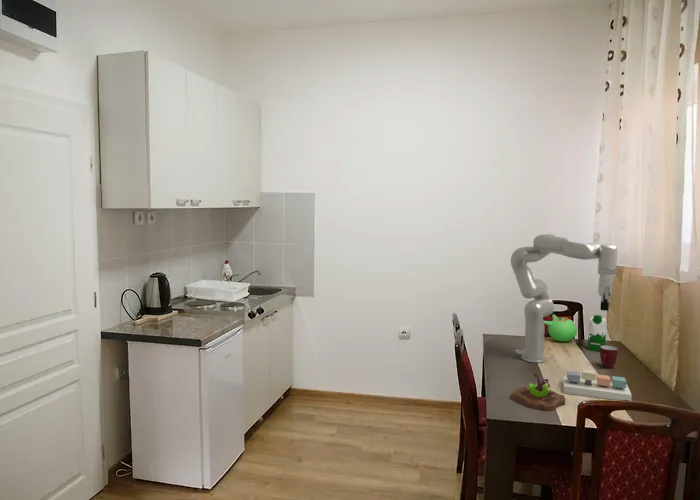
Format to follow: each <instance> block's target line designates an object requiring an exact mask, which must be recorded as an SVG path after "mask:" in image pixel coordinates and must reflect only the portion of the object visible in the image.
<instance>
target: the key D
mask: <svg viewBox="0 0 700 500" xmlns="http://www.w3.org/2000/svg"><path fill="white" fill-rule="evenodd" d="M611 382H612V385H613V387H615V389H622V388H626V384H627V383H628V382H627V380H626V378H625V377H623V376H616V375H615V376H614V375H612V376H611ZM627 385H628V384H627Z"/></svg>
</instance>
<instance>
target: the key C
mask: <svg viewBox="0 0 700 500" xmlns="http://www.w3.org/2000/svg"><path fill="white" fill-rule="evenodd" d="M595 380H596V381H597V384H598V385H600V387H606V388H607V386H611V382H612V378H611V377H610V375H606V374H599V373H598V374H596V378H595Z"/></svg>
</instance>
